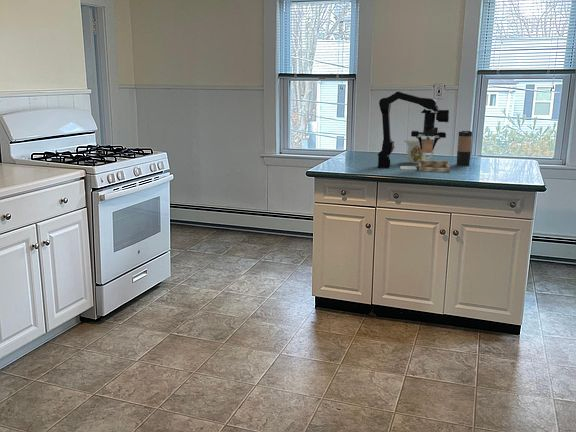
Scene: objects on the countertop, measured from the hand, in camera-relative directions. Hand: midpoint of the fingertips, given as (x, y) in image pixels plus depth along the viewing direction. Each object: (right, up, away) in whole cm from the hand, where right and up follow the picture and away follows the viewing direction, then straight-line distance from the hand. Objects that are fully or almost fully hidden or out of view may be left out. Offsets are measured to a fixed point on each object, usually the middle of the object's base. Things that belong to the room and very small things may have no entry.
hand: (427, 149), depth 318 cm
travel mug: (+25, -8, +16) cm, 31 cm away
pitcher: (0, -6, +24) cm, 24 cm away
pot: (0, -1, 0) cm, 1 cm away
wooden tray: (+4, -11, +2) cm, 12 cm away
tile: (-10, -11, +5) cm, 15 cm away
